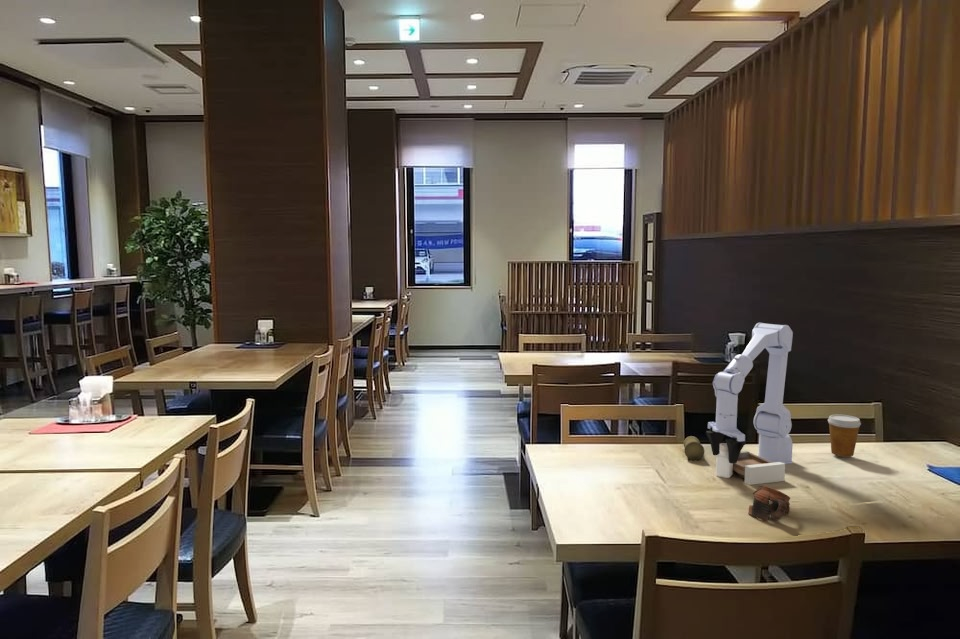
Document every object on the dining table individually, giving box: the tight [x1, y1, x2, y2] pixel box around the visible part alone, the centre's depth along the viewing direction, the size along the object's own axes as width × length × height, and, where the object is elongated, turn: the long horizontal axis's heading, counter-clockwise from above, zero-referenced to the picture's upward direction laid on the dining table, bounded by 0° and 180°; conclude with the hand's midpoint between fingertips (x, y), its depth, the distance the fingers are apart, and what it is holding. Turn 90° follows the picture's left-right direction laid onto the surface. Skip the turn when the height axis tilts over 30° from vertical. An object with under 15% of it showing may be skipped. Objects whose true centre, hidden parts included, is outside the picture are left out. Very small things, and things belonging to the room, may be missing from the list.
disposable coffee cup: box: [827, 414, 862, 458], centre depth 213 cm, size 10×10×12 cm
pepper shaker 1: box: [683, 435, 705, 461], centre depth 213 cm, size 6×6×11 cm
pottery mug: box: [748, 484, 791, 522], centre depth 163 cm, size 12×9×8 cm
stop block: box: [744, 462, 786, 486], centre depth 188 cm, size 12×2×5 cm, turn 106°
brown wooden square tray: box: [733, 450, 772, 479], centre depth 196 cm, size 11×11×4 cm
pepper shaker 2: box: [715, 442, 734, 479], centre depth 193 cm, size 4×4×10 cm
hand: (724, 458), depth 193 cm, fingers open, 7 cm apart
